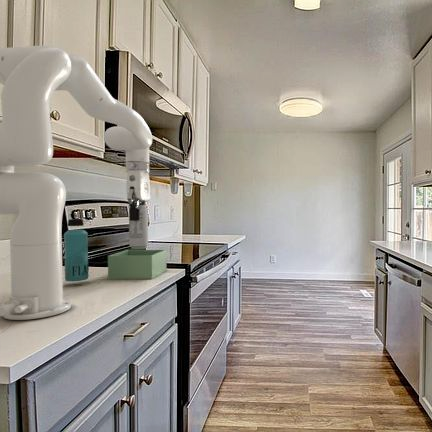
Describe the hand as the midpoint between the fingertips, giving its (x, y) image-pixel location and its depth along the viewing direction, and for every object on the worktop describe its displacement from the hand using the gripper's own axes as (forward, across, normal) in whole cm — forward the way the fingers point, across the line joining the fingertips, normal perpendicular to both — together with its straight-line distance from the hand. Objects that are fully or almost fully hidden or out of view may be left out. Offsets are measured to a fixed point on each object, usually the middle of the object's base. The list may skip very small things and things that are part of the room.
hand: (138, 219), depth 123 cm
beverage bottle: (+19, -15, +13) cm, 28 cm away
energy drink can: (+10, 0, 0) cm, 10 cm away
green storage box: (+19, 0, 0) cm, 19 cm away
